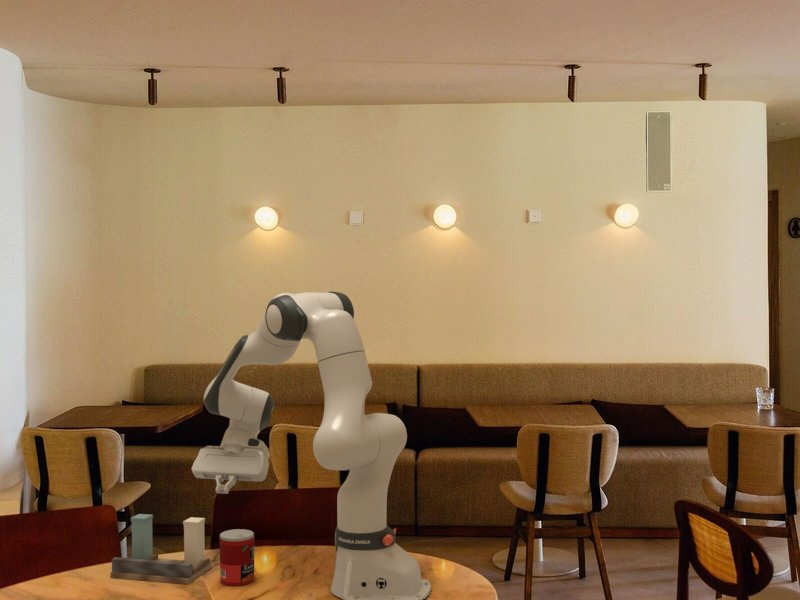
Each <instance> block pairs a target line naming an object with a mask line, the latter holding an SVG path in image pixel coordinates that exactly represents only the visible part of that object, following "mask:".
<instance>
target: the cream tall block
mask: <svg viewBox="0 0 800 600" xmlns="http://www.w3.org/2000/svg"><path fill="white" fill-rule="evenodd" d="M205 523H206V518H205V517H191V516H190V517H189V518H187V519H185V520H183V521H182V525H183V532H184V533H183V542H184V543H183V545H184V546H183V551H184V553H183V556H184V557H183V558H184V559H183V560H184V563H192V567H195V566H197V565H198V564H200V563H201V562H202V561H204V560H205V559H206V557H205Z"/></svg>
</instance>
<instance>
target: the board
mask: <svg viewBox="0 0 800 600" xmlns="http://www.w3.org/2000/svg"><path fill="white" fill-rule="evenodd" d="M212 563H213V562H211V558H205V560H204V561H202V562H201V563H200V564H198V565H197V566H195V567H192V563H184V559H182V560H181V559H171V558H159V554H157V553H154V554H153V556H151V557H150V558H148V559H146V560H145V559H133V558H132V555H130V556H129V557H118V556H117V557H116V556H115V557H113V558H111V572H110V578H111V579H121V580H131V581H145V582H153V583H164V584H165V583H166V584H176V585H177V584H179V585H189V584H191V583H192V582H194V581H195V580H196V579H198V578H199V577H201V576H202V575H203V574H205V573H207V572H208V571H209V570H210V569H212V568H213V565H212Z"/></svg>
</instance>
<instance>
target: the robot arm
mask: <svg viewBox="0 0 800 600" xmlns="http://www.w3.org/2000/svg"><path fill="white" fill-rule="evenodd" d="M354 309H355V308H354V305H353V303H352V301H351V299H350V298H349V297H348V295H347V294H345V293H342V292H339V291H334V290H333V291H327V292H325V291H324V292H322V291H321V292H320V291H313V292H311V291H306V292H298V293H292V292H282V293H279V294H277V295H275V296H274V297H273V298H272V299H271V300H270V301H269V302H268V304H267V306H266V309H265V311H264V313H263V315H262V316H261V320H260V322H259V324H258V327H257V328H256V330H254V331H253V332H252V333H250V334H247V335H246V334H245V335H242V336H241V338H239V339H238V341H237V342H236V343H235V344H234V346H233V348H232V349H231V351H230V352H229V354H228V356H227V358H226V359H225V361H224V362H223V364H222V365H221V367H220V370H219V371H218V372H217V374H216V375H215V377H214V378H213V379H212V380H211V381H210V383H208V386H207V387H206V389H205V390H204V395H203V401H202V402H203V404H204V406H205V408H206V410H207V411H208V413H210V414H213V415H217V416H222V417H226V418H229V425H228V427H227V429H226V430H225V432H224V434H223V438H222V440H221V443H220V445H206V446H204V447H202V448H200V449H199V451H198V454H197V456H196V458H195V460H194V462H193V464H192V466H191V472H192V474H193V475H194V477H195V478H196V479H207V480H208V479H209V480H215V482H216V487H215V492H216V494H225V495H226V494H227V495H228V494H229V491H230V489H231V488H232V487H233V486H235V485H236V483H237V481H243V482H245V481H246V482H264V481H265V480H266V478H267V475H268V472H269V466H270V462H269V459H270V456H271V454H270V451H269V449H268V447H267V445H266V444H265V442H264V441H263V440H261V439H258V435H259V434H260V432H261V431H262V430H264V429H266V428H268V426H269V425H270V421H271V417H272V414H273V412H274V409H275V407H276V402H275V400H274V398H273V396H272V395H271V393H269V392H267V391H266V390H262V389H259V388H258V387H253V386H250V385H248V384H244V383H242V382H238V381H236V380H234V377H236V374H237V372H238V371H239V370H240V368H242V367H244V366H247V365H265V366H275V365H280V364H283V363H286V362H288V361H289V360H290V359H292V357H293V356H294V355H295V353H296V351H297V349H298V347H299V345H300V344H301V340H305V339H308V340H310V341H311V343H312V345H314V346H313V347H314V350H315V356H316V361H317V366H318V370H319V374H320V380H321V385H322V389H323V394H324V405H323V407H324V409H323V410H324V411H323V416H322V419H321V420H322V421H321V424H320V426H319V428H318V430H317V431H316V433H315V434H314V436H313V439H312V440H313V441H312V451H313V455H314V457H315V460H316V461H317V463H318V465H320V466H321V467H322V468H324V469H326V470H329V471H349V472H348V475H347V477H346V479H345V481H344V482H343V483H342V485H341V486H340V487H339V490H338V492H337V496H336V497H337V499H336V500H337V501H336V502H337V503H336V506H337V508H336V509H337V510H336V511H337V512H336V514H337V516H336V517H337V519H336V520H337V526H336V527H335V532H334V546H335V552H336V559H335V567H334V574H333V579H332V581H331V586H330V592H331V594H332V595H334V596H335V597H338V598H340V599H341V600H423V599H425V598H426V597H427V596H428V595H429V596H430V594H431V592H432V584H431V582H430V580H428V579H425V578H422V573H421V568H420V565H419V563H418V560H417V559H416V558H415V557H414V556H412V555H411V554H410V553H408V552H407V551H406V550H404V549H403V548H402V547H401V546H400V545H399V544H397V543H396V534H397V532H396V531H397V528H396V527H395V528H394V529H392V528H391V527H390V526H388V524H387V518H388V517H387V508H388V507H387V505H388V502H387V501H388V498H387V497H388V490H389V489H388V488H389V484H390V481H391V476H392V474H393V469H394V466H395V465H396V461H397V460H398V458H399V457H398V456H400V454H401V452H402V451H403V450H404V448H405V446H406V444H407V441H408V440H407V439H408V433H407V427H406V426H405V424H404V422H403V421H402V420H401V418H399V417H398V416H397V415H394V414H390V413H383V412H374V413H369V414H365V413H366V412H365V407H366V406H365V403H366V398H367V395H368V394H369V393H370V391H371V389H372V387H373V381H372V380H373V379H372V375H371V371H370V368H369V363H368V358H367V353H366V352H365V350H366V349H365V347H364V344H363V341H362V340H363V339H362V337H361V334H360V331H359V329H358V326H357V324H356V322H355V319H354V318H355V310H354ZM224 480H226V481H227V480H228V481H227V482H226V483H225V484H222V483H224ZM430 591H431V592H430ZM429 593H430V594H429ZM429 596H428V597H429ZM428 597H427V598H428ZM427 598H426V599H427ZM426 599H425V600H426Z"/></svg>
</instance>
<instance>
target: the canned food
mask: <svg viewBox="0 0 800 600" xmlns="http://www.w3.org/2000/svg"><path fill="white" fill-rule="evenodd" d="M219 579H220V582H221V584H223V585H226V586H229V587H241V586H242V587H243V586H246V585H249V584H251V583H252V582H254V579H255V533H254V532H253V531H252V530H249V529H246V528H245V529H244V528H242V529H240V528H236V529H234V528H233V529H229V530H228V529H227V530H225V531H222V532H221V533H220V534H219Z"/></svg>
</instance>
